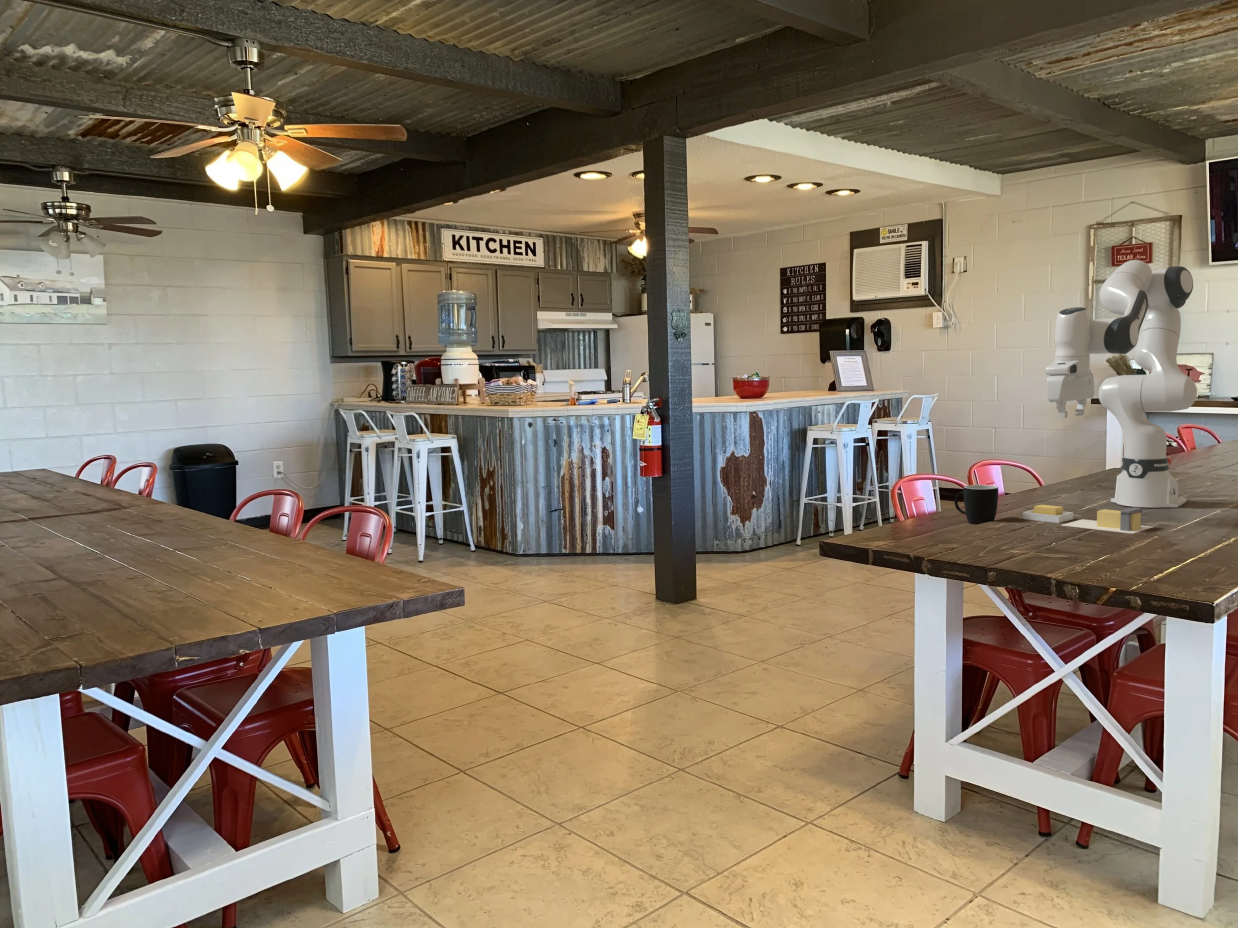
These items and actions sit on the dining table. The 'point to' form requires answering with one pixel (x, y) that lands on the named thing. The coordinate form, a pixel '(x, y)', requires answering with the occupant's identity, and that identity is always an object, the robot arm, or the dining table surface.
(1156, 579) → the dining table surface
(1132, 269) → the robot arm
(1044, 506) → the stub
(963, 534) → the dining table surface
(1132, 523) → the board
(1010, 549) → the dining table surface
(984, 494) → the mug
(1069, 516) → the stub tray
